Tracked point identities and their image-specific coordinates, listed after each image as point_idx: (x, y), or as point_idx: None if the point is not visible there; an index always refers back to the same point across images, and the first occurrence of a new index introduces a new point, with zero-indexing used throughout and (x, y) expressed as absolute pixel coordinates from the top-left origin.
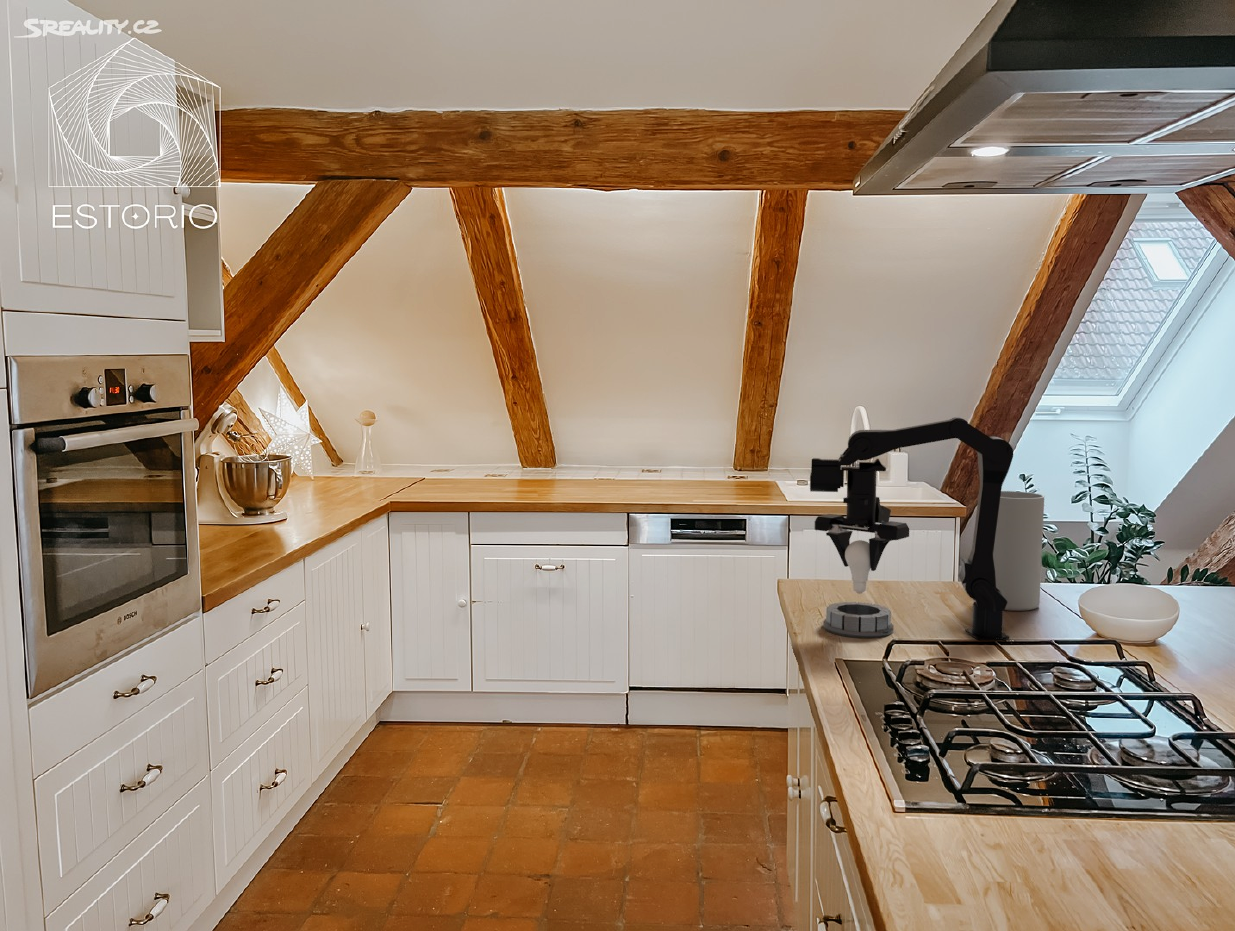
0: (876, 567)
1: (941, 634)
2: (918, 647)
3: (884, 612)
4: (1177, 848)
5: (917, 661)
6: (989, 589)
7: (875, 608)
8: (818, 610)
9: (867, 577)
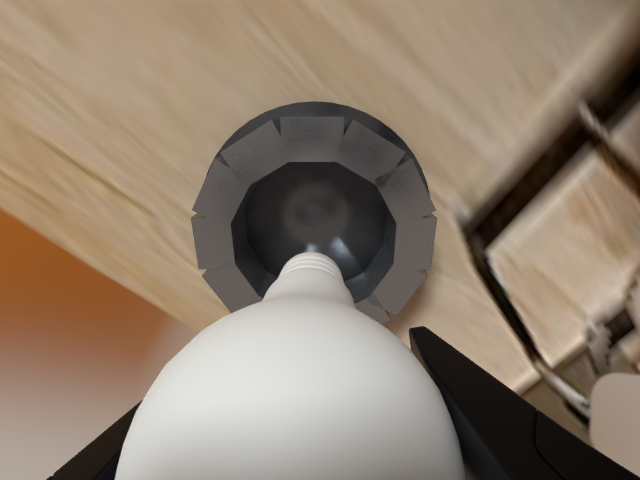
0: (435, 335)
1: (551, 22)
2: (559, 225)
3: (405, 195)
4: None
5: (612, 321)
6: None
7: (327, 160)
8: (63, 156)
9: (353, 303)
